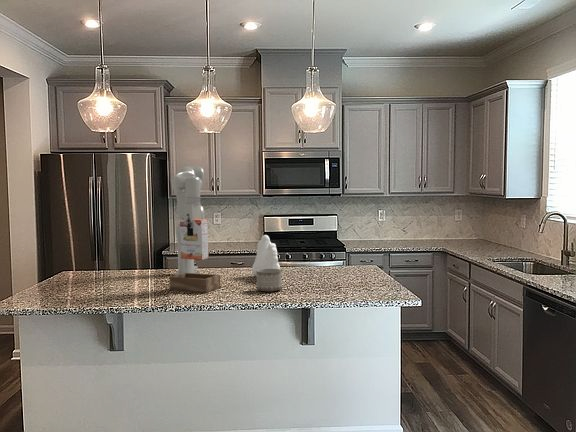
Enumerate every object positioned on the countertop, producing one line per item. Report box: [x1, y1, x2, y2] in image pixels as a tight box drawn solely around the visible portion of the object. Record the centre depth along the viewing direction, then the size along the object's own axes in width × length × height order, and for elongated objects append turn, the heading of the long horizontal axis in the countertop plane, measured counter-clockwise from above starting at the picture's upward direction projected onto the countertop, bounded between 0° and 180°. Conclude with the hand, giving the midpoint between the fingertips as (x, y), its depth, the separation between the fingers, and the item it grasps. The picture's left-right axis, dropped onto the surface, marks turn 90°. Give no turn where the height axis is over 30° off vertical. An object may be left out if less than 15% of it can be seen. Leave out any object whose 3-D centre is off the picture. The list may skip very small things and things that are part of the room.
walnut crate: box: [169, 272, 221, 294], centre depth 269 cm, size 14×22×7 cm, turn 67°
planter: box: [256, 268, 282, 293], centre depth 263 cm, size 13×13×10 cm
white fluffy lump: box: [251, 234, 281, 277], centre depth 295 cm, size 25×16×25 cm, turn 10°
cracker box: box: [179, 219, 209, 261], centre depth 267 cm, size 14×6×21 cm, turn 62°
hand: (194, 234), depth 267 cm, fingers closed on cracker box, 6 cm apart
